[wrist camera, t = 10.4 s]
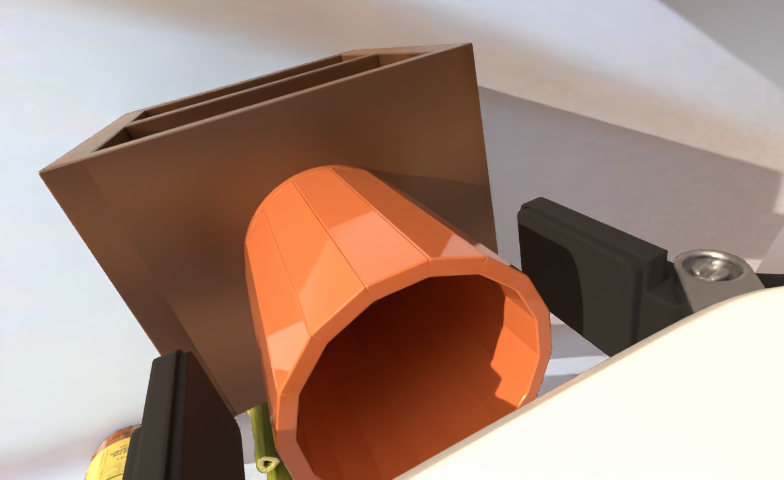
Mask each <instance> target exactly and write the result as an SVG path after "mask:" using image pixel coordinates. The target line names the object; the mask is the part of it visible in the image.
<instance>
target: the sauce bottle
mask: <svg viewBox="0 0 784 480" xmlns="http://www.w3.org/2000/svg"><path fill="white" fill-rule="evenodd" d="M140 426H141V424H140V425H136V426H130V427H127V428H124V429H121V430H118V431H116V432H115V433H114V434H113V435H111V436H110V437H108V438H107V439H106V440H105V442H103V443H102V444H101V446H100V447H99V448H98V450H97V451H96V452H95V454H94V455H93V457H92V460H91V463H90V465H89V468H88V472H87V473H86V476H85V479H84V480H122V477H123V472H124V467H125V462H126V457H127V452H128V447H129V442H130V438H131V435H132V432H133V431H134V430H135V429H136V428H138V427H140Z"/></svg>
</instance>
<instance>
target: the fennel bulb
mask: <svg viewBox="0 0 784 480" xmlns="http://www.w3.org/2000/svg"><path fill="white" fill-rule="evenodd" d="M247 412H248V414H249V415H250V417H251V423H252V431H253V436H254V441H255V459H256V468H257V469H258V471H260V472H261V473H267V480H293V478H292V476H291V475H290V473H289V471H288V469H287V468H286V466H285V464H284V462H283V461H282V459H281V457H280V455H279V454H278V452H277V450H276V448H275V444H274V438H273V432H272V426H271V420H270V415H269V409H268V403H267V401H266V402H264V403H262V404H260V405H258V406H256V407H254V408H252V409H250V410H247Z"/></svg>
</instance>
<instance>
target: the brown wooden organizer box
mask: <svg viewBox="0 0 784 480" xmlns="http://www.w3.org/2000/svg"><path fill="white" fill-rule="evenodd" d="M328 165H346V166H354V167H358V168H361V169H365V170H367V171H369V172H372V173H374V174H376V175H377V176H379V177H381V178H382V179H384V180H386V181H388V182H390V183H391V184H393V185H395V186H396V187H398V188H399V189H401V190H402V191H404V192H405V193H407V194H408V195H410V196H411V197H413V198H414V199H416V200H417V201H418V202H420V203H421V204H423V205H424V206H426V207H427V208H429V209H430V210H432V211H433V212H435V213H436V214H438V215H439V216H441V217H442V218H444V219H445V220H447V221H448V222H449V223H451V224H452V225H454V226H455V227H457V228H458V229H460V230H461V231H463V232H464V233H466V234H467V235H469V236H470V237H472V238H473V239H475V240H476V241H478V242H479V243H480V244H482V245H483V246H485V247H486V248H488V249H489V250H491V251H492V252H494V253H495V254H497V255H498V248H497V240H496V232H495V224H494V216H493V208H492V200H491V191H490V183H489V175H488V167H487V159H486V151H485V143H484V135H483V127H482V119H481V111H480V102H479V94H478V86H477V78H476V70H475V62H474V54H473V46H472V43H460V44H444V45H428V46H411V47H395V48H378V49H362V50H352V51H348V52H345V53H341V54H338V55H334V56H330V57H327V58H323V59H320V60H316V61H313V62H309V63H305V64H302V65H298V66H295V67H291V68H288V69H284V70H281V71H277V72H273V73H270V74H266V75H263V76H259V77H256V78H252V79H249V80H245V81H241V82H238V83H234V84H231V85H227V86H224V87H220V88H217V89H213V90H209V91H206V92H202V93H199V94H195V95H192V96H188V97H184V98H181V99H177V100H174V101H170V102H167V103H163V104H160V105H156V106H152V107H149V108H147V109H142V110H138V111H135V112H131V113H127V114H125V115H123V116H122V117H120V118H119V119H117V120H116V121H114V122H113V123H111V124H110V125H108V126H107V127H105V128H104V129H102V130H101V131H99V132H98V133H96V134H95V135H93V136H92V137H90V138H89V139H87V140H86V141H84V142H83V143H81V144H80V145H78V146H77V147H75V148H74V149H72V150H71V151H69V152H68V153H66V154H65V155H63V156H62V157H60V158H59V159H57V160H56V161H54V162H53V163H51V164H50V165H48V166H47V167H45V168H44V169H42V170H41V171H39V172H38V173H39V175H40V177H41V178H42V180H43V181H44V183H45V184H46V186H47V187H48V189H49V190H50V192H51V193H52V195H53V196H54V198H55V199H56V200H57V202H58V203H59V205H60V206H61V208H62V209H63V211H64V212H65V214H66V215H67V217H68V218H69V220H70V221H71V223H72V224H73V226H74V227H75V229H76V230H77V232H78V233H79V235H80V236H81V238H82V239H83V241H84V242H85V244H86V245H87V246H88V248H89V249H90V251H91V252H92V254H93V255H94V257H95V258H96V260H97V261H98V263H99V264H100V266H101V267H102V269H103V270H104V272H105V273H106V275H107V276H108V278H109V279H110V281H111V282H112V284H113V285H114V287H115V288H116V290H117V291H118V292H119V294H120V295H121V297H122V298H123V300H124V301H125V303H126V304H127V306H128V307H129V309H130V310H131V312H132V313H133V315H134V316H135V318H136V319H137V321H138V322H139V324H140V325H141V327H142V328H143V330H144V331H145V333H146V334H147V336H148V337H149V338H150V340H151V341H152V343H153V344H154V346H155V347H156V349H157V350H158V352H159V353H160V355H161V356H163V355H165V354H167V353H170V352H172V351H175V350H177V349H181V350H182V351H183V352H184V353H185V352H188V351H192V352H193V353H194V355H195V356H196V358H197V360H198V361H199V363H200V364H201V366H202V368H203V369H204V371H205V372H206V374H207V376H208V377H209V379H210V380H211V382H212V384H213V385H214V387H215V388H216V390H217V392H218V393H219V395H220V396H221V398H222V400H223V401H224V403H225V404H226V406H227V407H228V409H229V411H230V412H231V414H232V415H233V417H235V416H237V415H239V414H241V413H243V412H245V411H247V410H250V409H252V408H254V407H256V406H258V405H260V404H262V403H264V402H266V401H267V397H266V392H265V386H264V380H263V374H262V368H261V363H260V357H259V351H258V345H257V340H256V334H255V328H254V322H253V316H252V311H251V305H250V299H249V293H248V288H247V282H246V276H245V257H244V248H245V239H246V235H247V231H248V227H249V225H250V222H251V220H252V218H253V216H254V214H255V212H256V211H257V209H258V207H259V206H260V205H261V203H262V202H263V201H264V199H265V198H266V197H267V196H268V195H269V194H270V193H271V192H272V191H273V190H274V189H275V188H276V187H278V186H279V185H280V184H282V183H283V182H284V181H286V180H287V179H289V178H291V177H293V176H294V175H296V174H299V173H301V172H303V171H306V170H309V169H312V168H316V167H320V166H328Z"/></svg>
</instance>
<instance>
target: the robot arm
mask: <svg viewBox="0 0 784 480" xmlns="http://www.w3.org/2000/svg"><path fill="white" fill-rule="evenodd" d="M517 219H518V231H519V242H520V254H521V266H522V272H523V273H525V274H526V275H527V276H528V277H529V278H530V280H531V281H532V283H533V284H534V286H535V288H536V289H537V291H538V292H539V294H540V296H541V297H542V299H543V300H544V302H545V304H546V305H547V307H548V308H549V311H550V312H551V313H552V314H553V315H555V316H556V317H557V318H559V319H560V320H561V321H563V322H564V323H565V324H567V325H568V326H569V327H571V328H572V329H573V330H575V331H576V332H577V333H579V334H580V335H581V336H583V337H584V338H585V339H587V340H588V341H589V342H591V343H592V344H593V345H595V346H596V347H597V348H599V349H600V350H601V351H603V352H604V353H605V354H607V355H608V356H609V357H611V358H609V359H607V360H605V361H604V362H602V363H600V364H598V365H596V366H594V367H593V368H591V369H589V370H587V371H585V372H584V373H582V374H580V375H578V376H576V377H575V378H573V379H571V380H569V381H567V382H565V383H564V384H562V385H560V386H558V387H556V388H555V389H553V390H551V391H549V392H547V393H546V394H544V395H542V396H540V397H539V398H537V399H535V400H533V401H531V402H530V403H528V404H526V405H524V406H522V407H521V408H519V409H517V410H515V411H513V412H512V413H510V414H508V415H506V416H504V417H503V418H501V419H499V420H497V421H496V422H494V423H492V424H490V425H488V426H487V427H485V428H483V429H481V430H480V431H478V432H476V433H474V434H472V435H471V436H469V437H467V438H465V439H463V440H462V441H460V442H458V443H456V444H455V445H453V446H451V447H449V448H447V449H446V450H444V451H442V452H440V453H439V454H437V455H435V456H433V457H432V458H430V459H428V460H426V461H425V462H423V463H421V464H419V465H417V466H416V467H414V468H412V469H410V470H409V471H407V472H405V473H403V474H402V475H400V476H398V477H396V478H395V479H393V480H784V274H759V273H755V272H754V271H753V269H752V268H751V267H750V265H749V264H748V263H746V262H745V261H744V260H743V259H741V258H739V257H737V256H735V255H732V254H729V253H726V252H721V251H716V250H692V251H688V252H685V253H682V254H680V255H679V256H677V257H676V259H675V261H674V263H672V262H669V261H667V253H668V251H667V250H665V249H662V248H660V247H658V246H655V245H653V244H651V243H648V242H646V241H644V240H641V239H639V238H637V237H634V236H632V235H630V234H627V233H625V232H623V231H620V230H618V229H616V228H613V227H611V226H609V225H606V224H604V223H602V222H599V221H597V220H595V219H592V218H590V217H588V216H585V215H583V214H581V213H578V212H576V211H574V210H571V209H569V208H567V207H564V206H562V205H559V204H557V203H555V202H552V201H550V200H548V199H545V198H543V197H539V198H536V199H534V200H532V201H529V202H527V203H524V204H523V205H522V206H521V209H520V211H519V212H518V214H517ZM122 480H245V472H244V461H243V450H242V439H241V433H240V429H239V426H238V424H237V422H236V420H235V419H234V417H233V415H232V414H231V412H230V411H229V409H228V407H227V406H226V404H225V403H224V401H223V400H222V398H221V396H220V395H219V393H218V392H217V390H216V388H215V387H214V385H213V384H212V382H211V380H210V379H209V377H208V376H207V374H206V372H205V371H204V369H203V368H202V366H201V364H200V363H199V361H198V360H197V358H196V356H195V355H194V353H193V352H192V351H188V352H185V353H184V352H183V351H182V350H181V349H177V350H175V351H172V352H170V353H167V354H165V355H163V356H160V357H158V358H156V359H154V360H153V362H152V368H151V373H150V379H149V385H148V390H147V396H146V402H145V407H144V413H143V419H142V424H141V426H140V427H138V428H136V429H135V430H134V431H133V432H132V435H131V438H130V442H129V447H128V452H127V457H126V462H125V467H124V472H123V477H122Z"/></svg>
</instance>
